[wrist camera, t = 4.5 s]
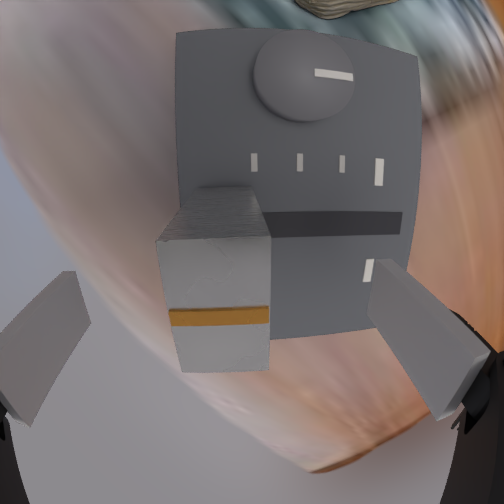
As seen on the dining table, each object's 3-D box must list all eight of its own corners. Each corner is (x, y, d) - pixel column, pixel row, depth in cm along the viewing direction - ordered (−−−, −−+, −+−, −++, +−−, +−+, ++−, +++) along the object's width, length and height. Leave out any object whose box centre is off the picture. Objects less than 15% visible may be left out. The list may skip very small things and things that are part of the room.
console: (200, 325, 25) (195, 362, 20) (182, 44, 16) (168, 19, 11) (381, 310, 26) (404, 340, 21) (401, 62, 17) (435, 50, 12)
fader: (203, 267, 19) (181, 374, 10) (196, 188, 17) (154, 242, 8) (252, 265, 20) (269, 372, 10) (251, 186, 18) (271, 237, 8)
